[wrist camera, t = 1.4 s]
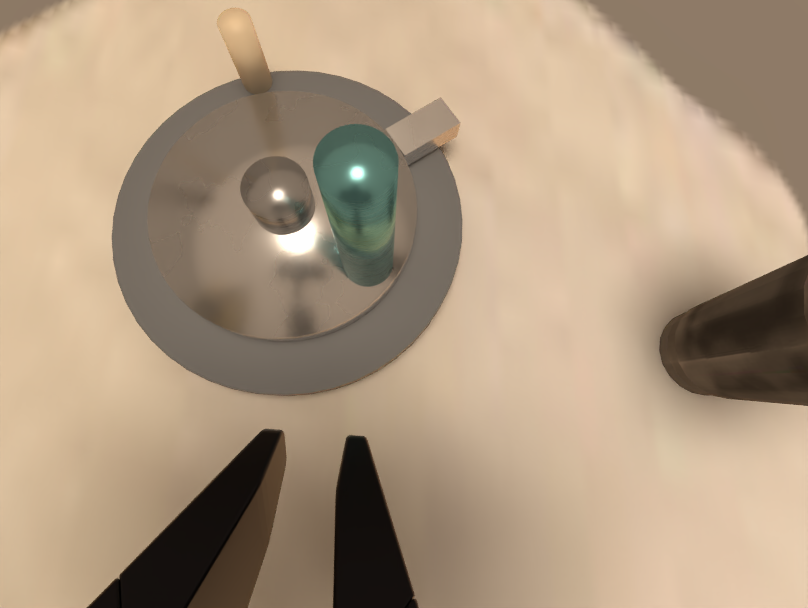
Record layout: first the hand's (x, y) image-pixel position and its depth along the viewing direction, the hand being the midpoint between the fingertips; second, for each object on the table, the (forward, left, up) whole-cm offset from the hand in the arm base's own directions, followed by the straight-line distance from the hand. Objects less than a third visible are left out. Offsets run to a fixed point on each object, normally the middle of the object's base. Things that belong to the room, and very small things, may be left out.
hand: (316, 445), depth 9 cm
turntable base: (+9, +6, -14) cm, 17 cm away
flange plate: (+10, +6, -12) cm, 16 cm away
